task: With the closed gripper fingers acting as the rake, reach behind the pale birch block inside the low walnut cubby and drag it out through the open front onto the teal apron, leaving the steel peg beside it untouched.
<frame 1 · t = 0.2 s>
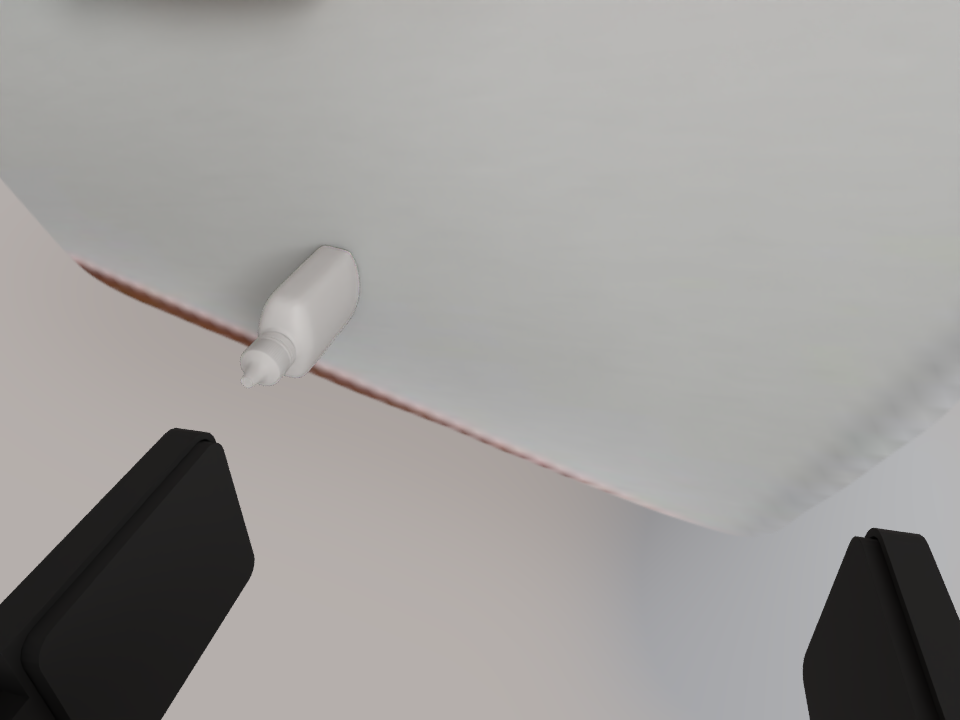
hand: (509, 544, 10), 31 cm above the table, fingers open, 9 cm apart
eye dropper bottle: (338, 281, 46), on the table
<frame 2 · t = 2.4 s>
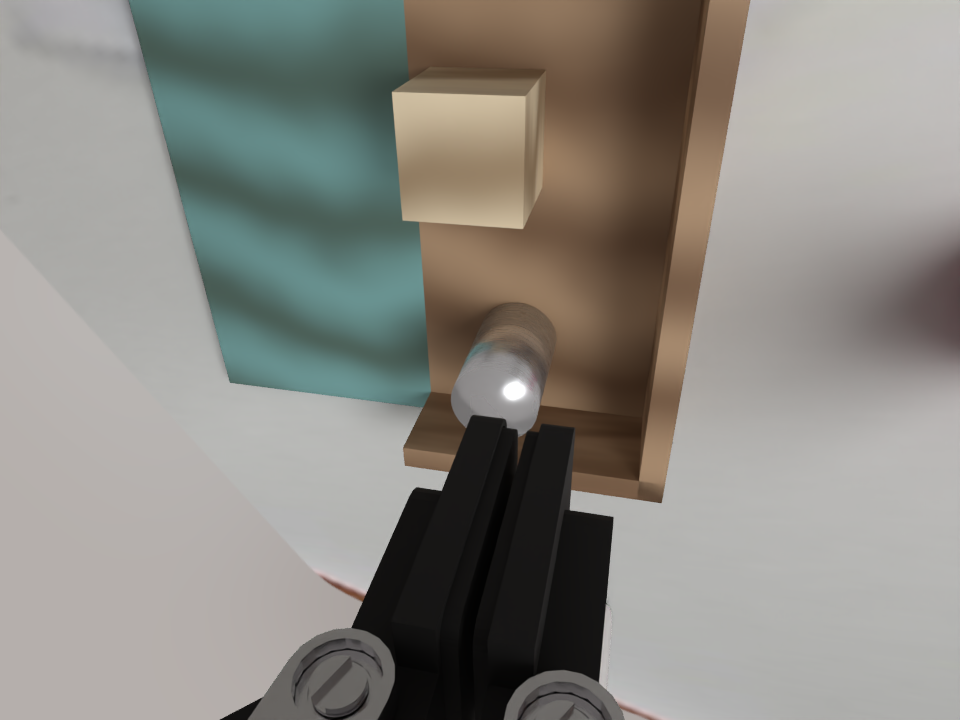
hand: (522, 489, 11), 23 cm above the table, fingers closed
eye dropper bottle: (586, 618, 48), on the table
steel peg: (518, 336, 36), point 1 cm above the table, touching cubby
cubby: (424, 203, 34), on the table
birch block: (487, 128, 30), point 1 cm above the table, touching cubby
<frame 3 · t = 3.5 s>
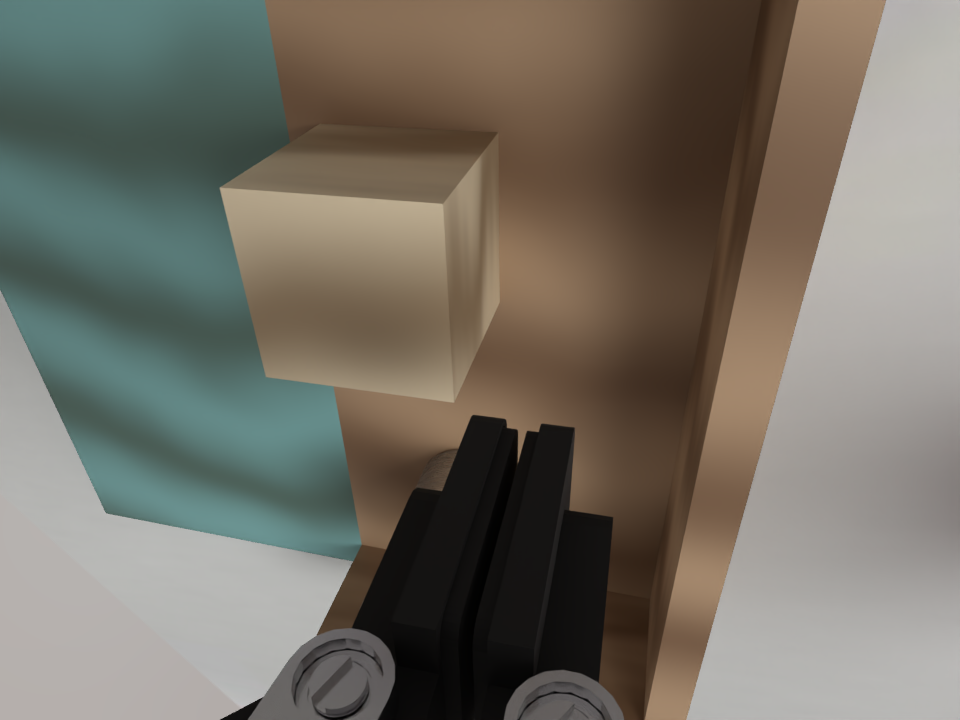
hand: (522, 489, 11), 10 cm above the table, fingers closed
steel peg: (474, 490, 25), point 1 cm above the table, touching cubby
cubby: (334, 308, 23), on the table
birch block: (413, 217, 20), point 1 cm above the table, touching cubby
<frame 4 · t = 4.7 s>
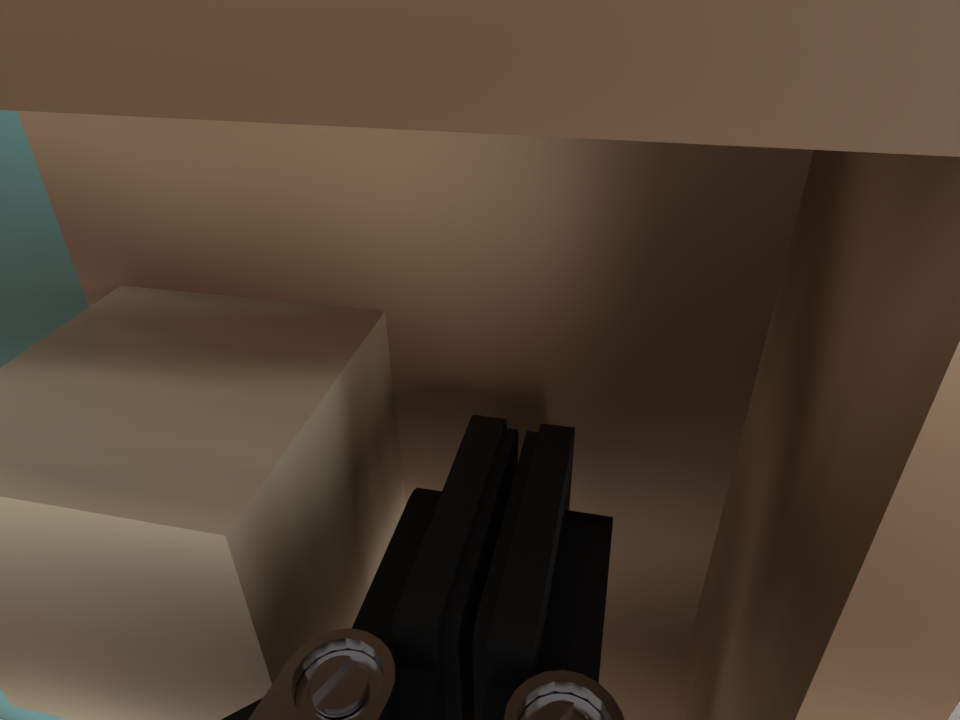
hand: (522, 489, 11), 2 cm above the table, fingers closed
cubby: (195, 500, 17), on the table
birch block: (274, 413, 13), point 1 cm above the table, touching cubby, gripper
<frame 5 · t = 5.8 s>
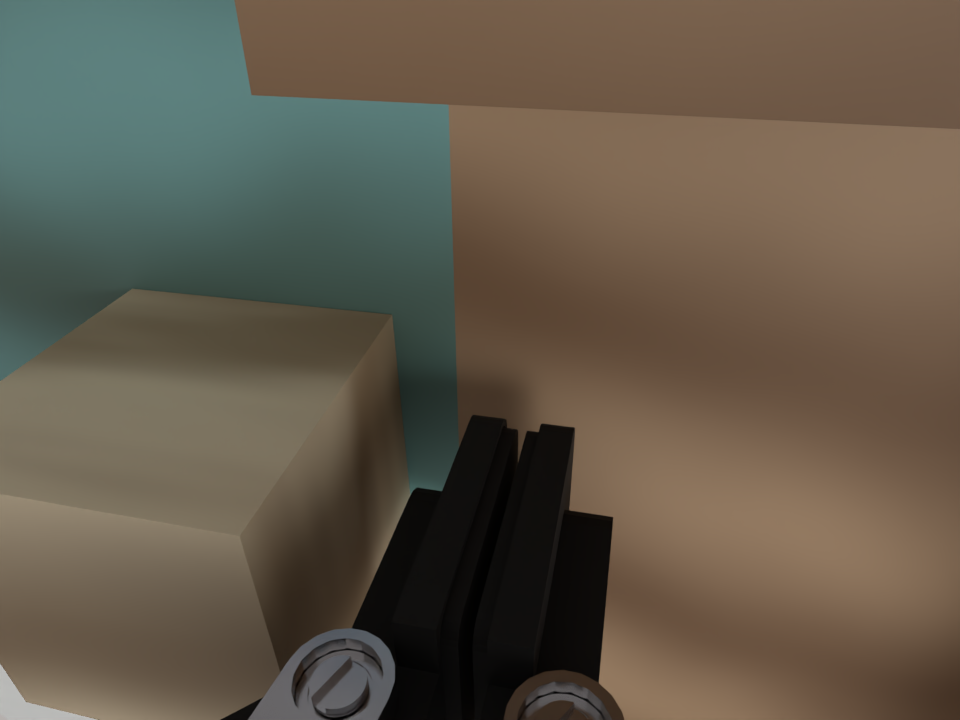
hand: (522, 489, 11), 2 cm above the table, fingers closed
cubby: (473, 537, 15), on the table
birch block: (281, 414, 13), point 1 cm above the table, touching gripper
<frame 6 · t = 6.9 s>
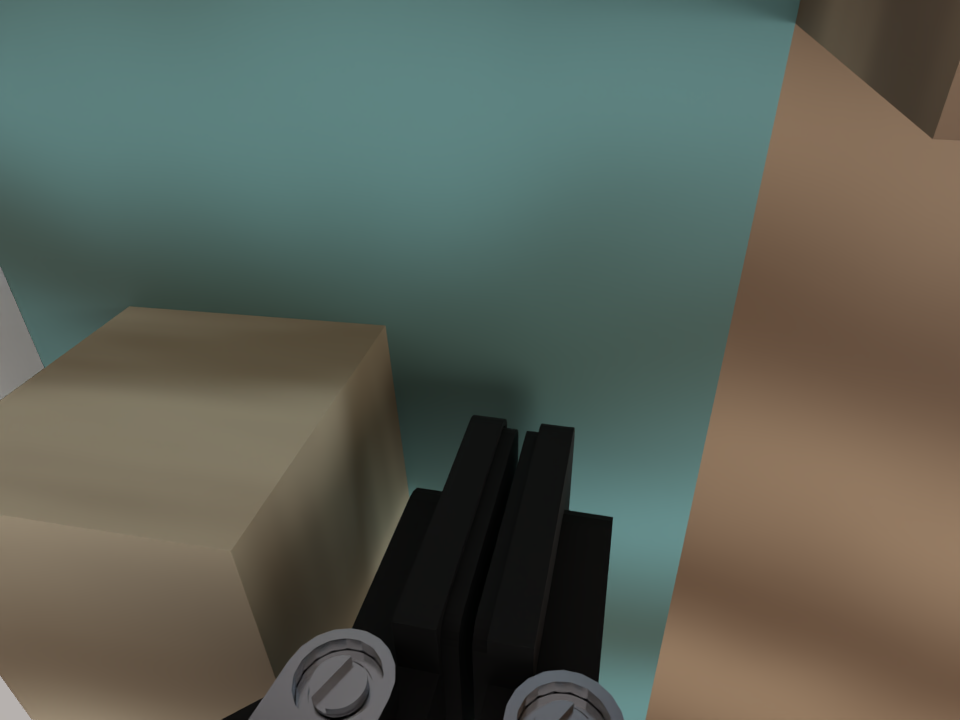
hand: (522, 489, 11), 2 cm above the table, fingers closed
cubby: (667, 576, 15), on the table
birch block: (280, 427, 13), point 1 cm above the table, touching cubby, gripper
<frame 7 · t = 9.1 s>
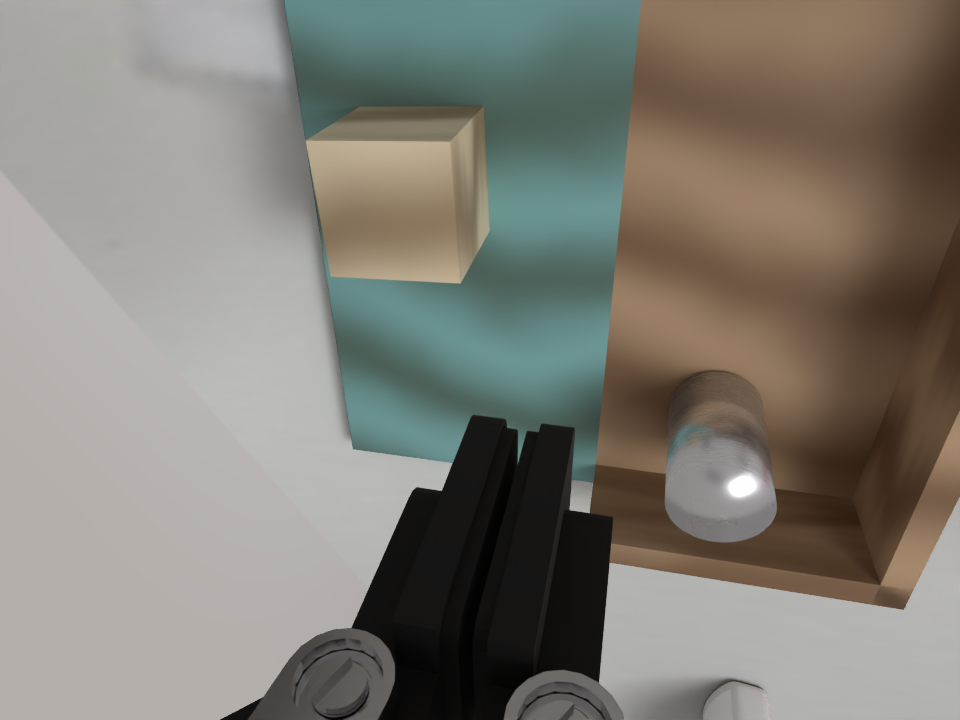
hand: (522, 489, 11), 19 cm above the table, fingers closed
eye dropper bottle: (733, 702, 43), on the table
steel peg: (715, 408, 31), point 1 cm above the table, touching cubby
cubby: (616, 255, 29), on the table
birch block: (426, 170, 28), point 1 cm above the table, touching cubby
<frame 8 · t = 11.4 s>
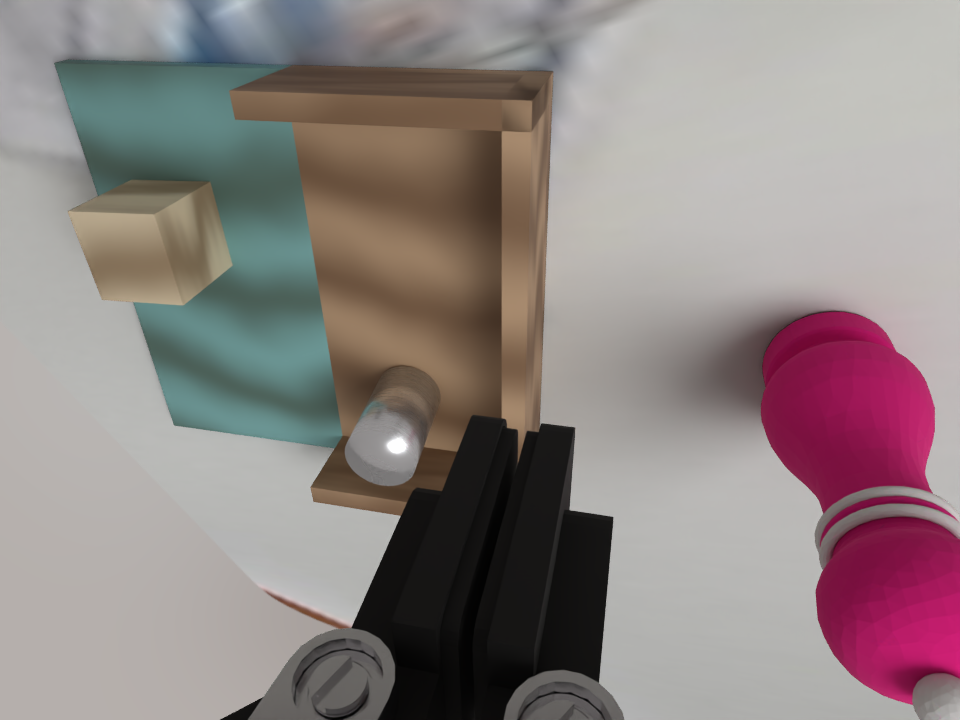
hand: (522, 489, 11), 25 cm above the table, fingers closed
pepper mill: (825, 360, 36), on the table
steel peg: (409, 392, 42), point 1 cm above the table, touching cubby
cubby: (326, 283, 40), on the table
birch block: (183, 223, 39), point 1 cm above the table, touching cubby
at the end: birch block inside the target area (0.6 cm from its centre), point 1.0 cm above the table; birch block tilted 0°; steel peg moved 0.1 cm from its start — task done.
